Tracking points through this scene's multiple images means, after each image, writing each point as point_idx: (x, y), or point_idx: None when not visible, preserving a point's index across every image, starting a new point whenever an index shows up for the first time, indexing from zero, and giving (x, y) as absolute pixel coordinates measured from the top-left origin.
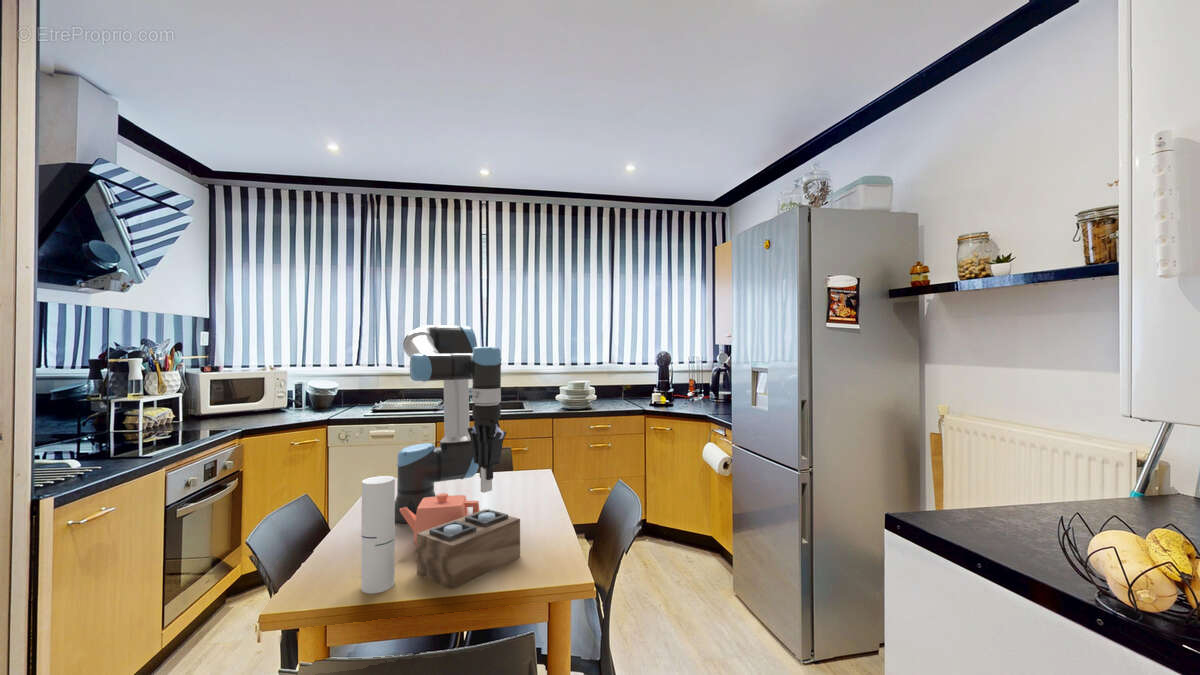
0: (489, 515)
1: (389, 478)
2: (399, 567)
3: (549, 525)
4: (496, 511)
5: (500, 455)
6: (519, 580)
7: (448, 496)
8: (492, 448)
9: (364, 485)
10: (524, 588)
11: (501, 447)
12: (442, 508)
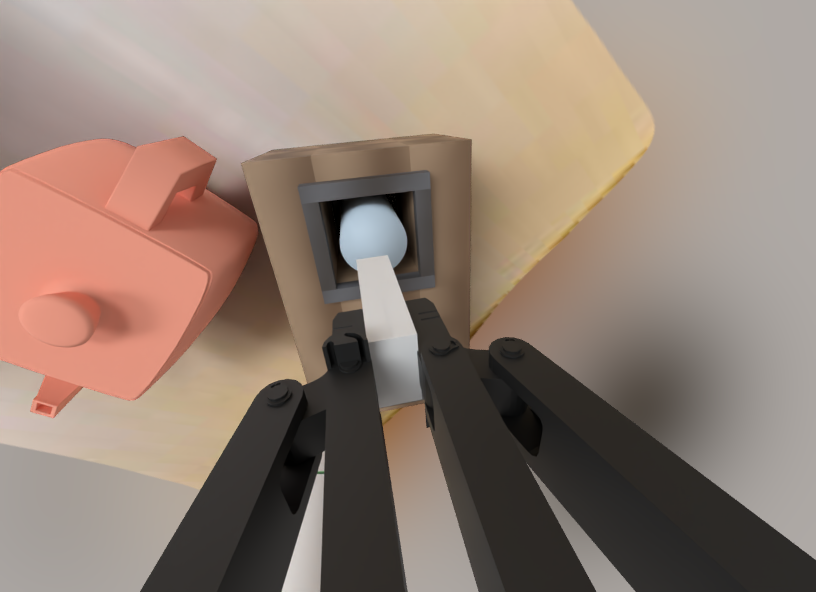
0: (386, 238)
1: None
2: (265, 367)
3: None
4: (356, 181)
5: (603, 402)
6: (525, 227)
7: None
8: (633, 577)
9: None
10: (555, 241)
11: (722, 500)
12: (185, 336)
